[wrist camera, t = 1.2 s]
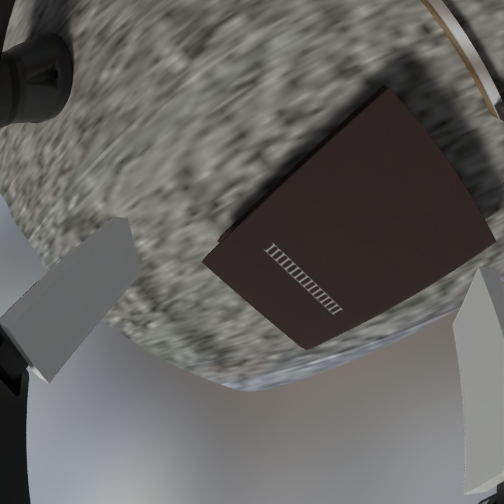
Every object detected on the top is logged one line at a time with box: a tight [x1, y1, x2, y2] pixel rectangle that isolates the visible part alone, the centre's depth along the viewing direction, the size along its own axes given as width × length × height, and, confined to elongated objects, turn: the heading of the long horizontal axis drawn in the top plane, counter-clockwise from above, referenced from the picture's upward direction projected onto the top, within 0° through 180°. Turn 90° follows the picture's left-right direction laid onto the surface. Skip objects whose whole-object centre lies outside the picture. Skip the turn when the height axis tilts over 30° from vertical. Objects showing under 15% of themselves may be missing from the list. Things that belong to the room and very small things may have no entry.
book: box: [202, 85, 496, 350], centre depth 33 cm, size 28×20×6 cm
